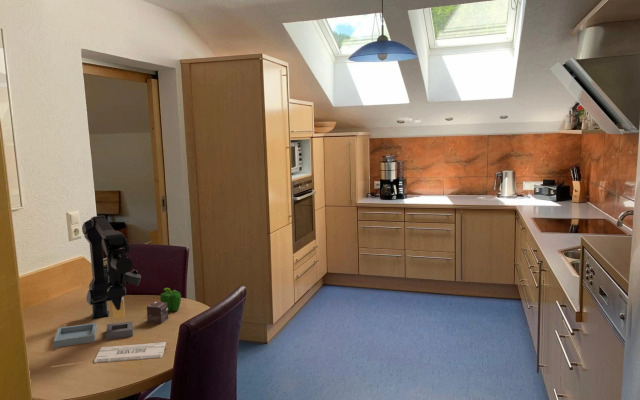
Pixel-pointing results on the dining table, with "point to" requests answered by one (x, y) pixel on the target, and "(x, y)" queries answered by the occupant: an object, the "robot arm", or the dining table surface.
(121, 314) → the block
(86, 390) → the dining table surface
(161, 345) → the newspaper
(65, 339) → the parts tray
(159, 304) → the box
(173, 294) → the bell pepper
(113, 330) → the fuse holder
